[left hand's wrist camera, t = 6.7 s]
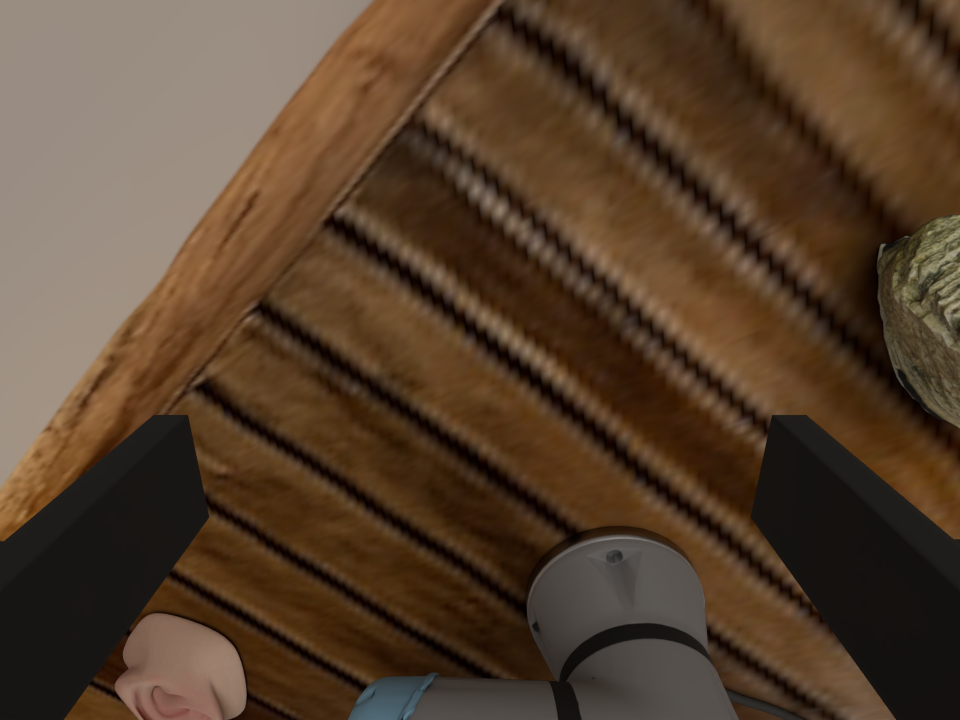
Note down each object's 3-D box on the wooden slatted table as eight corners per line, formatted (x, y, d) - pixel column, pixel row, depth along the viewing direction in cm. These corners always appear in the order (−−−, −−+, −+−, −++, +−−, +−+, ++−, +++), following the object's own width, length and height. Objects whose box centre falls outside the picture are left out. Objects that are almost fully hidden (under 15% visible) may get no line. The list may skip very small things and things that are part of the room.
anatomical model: (93, 643, 47) (233, 661, 48) (121, 606, 51) (250, 624, 52) (102, 749, 52) (229, 765, 53) (127, 709, 56) (245, 724, 56)
